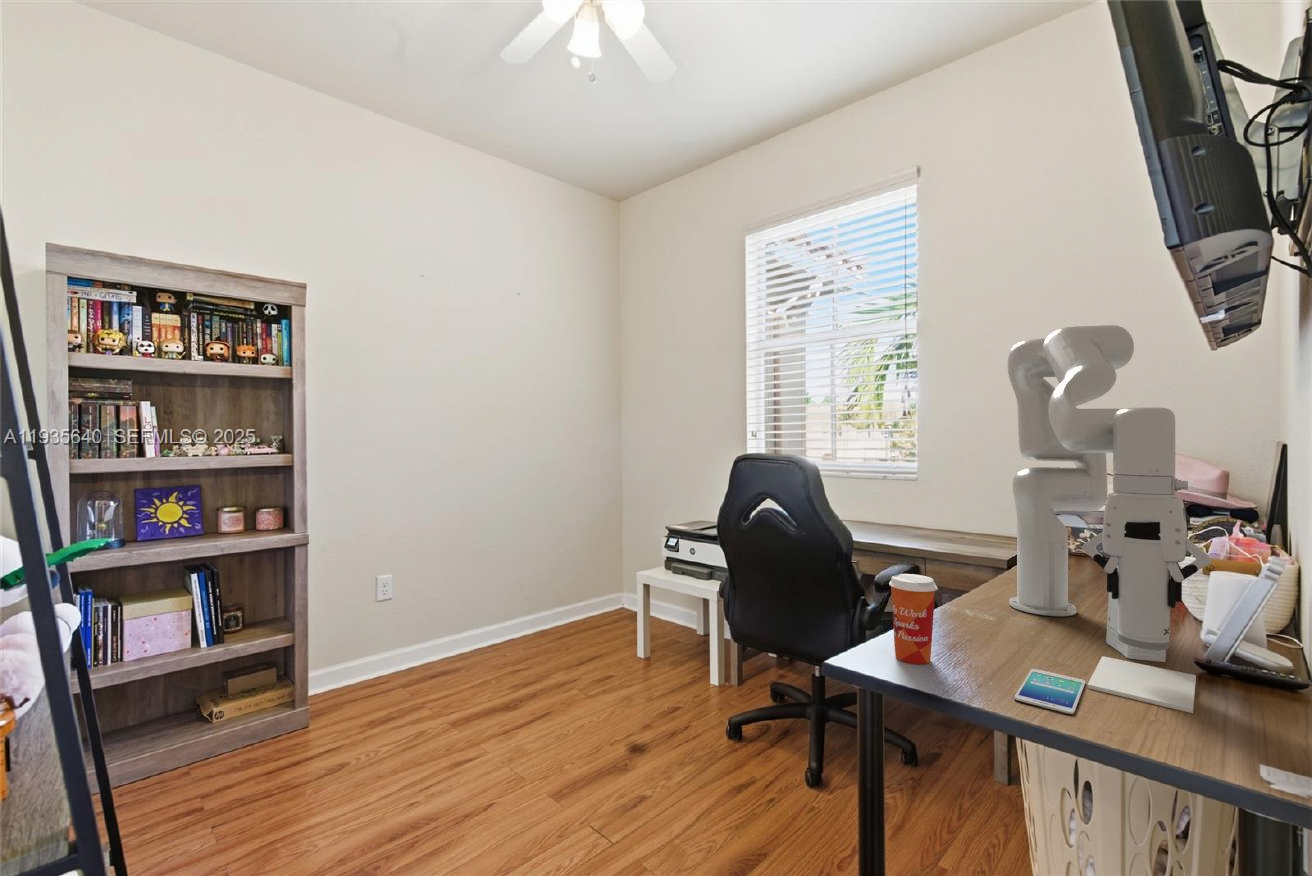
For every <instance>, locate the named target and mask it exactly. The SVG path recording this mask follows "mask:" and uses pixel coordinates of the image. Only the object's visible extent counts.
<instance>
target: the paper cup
mask: <svg viewBox="0 0 1312 876" xmlns="http://www.w3.org/2000/svg"><path fill="white" fill-rule="evenodd" d="M888 584H889V586H890V591H891V592H890V593H891V606H892V607H891V609H892V625H893V628H892V629H893V642H894V652H895V653H894V654H895V659H897V660H898V661H900V662H902V663H907V664H908V665H909V664H911V665H919V666H921V665H926V664H929V663H930V661H931V658H932V657H931V655H932V643H933V629H934V612H935V598H936V597H935V595H936V591H938V590H939V589H938V586H937V585H936V583H935V581H934V579H933V578H932V577H931V576H925V575H923V574H921V575H920V574H914V573H911V574H910V573H899V574H896V575H892V576H891V579H890V581H889V583H888Z"/></svg>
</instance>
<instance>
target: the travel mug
mask: <svg viewBox="0 0 1312 876" xmlns="http://www.w3.org/2000/svg"><path fill="white" fill-rule="evenodd" d="M1125 531H1126V533H1124V537H1123V540H1125V542H1123V549H1122V556H1121V557H1119V563H1118V639H1119V641H1121V642H1122V643H1124V644H1127V645H1129V646H1133V647H1137V648H1141V649H1147V650H1166V651H1167V650H1168V649H1169V648H1171V645H1170V639H1171V638H1170V637H1171V635H1170V631H1171V630H1170V629H1171V626H1170V625H1171V624H1170V621H1171V617H1170V616H1171V613H1170V611H1171V607H1170V606H1169V581H1170V579H1171V573H1170V571H1169V569H1168V568H1167V563H1166V562H1165V561H1164V558H1163V553H1162V546H1161V545H1160V544H1161V538H1160V536H1159V534H1160V522H1148V523H1135V522H1126V524H1125Z"/></svg>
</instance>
